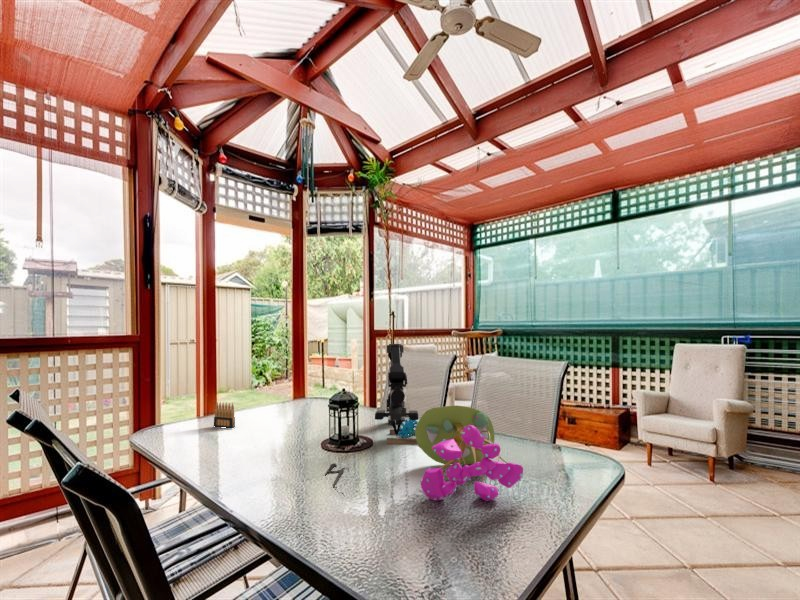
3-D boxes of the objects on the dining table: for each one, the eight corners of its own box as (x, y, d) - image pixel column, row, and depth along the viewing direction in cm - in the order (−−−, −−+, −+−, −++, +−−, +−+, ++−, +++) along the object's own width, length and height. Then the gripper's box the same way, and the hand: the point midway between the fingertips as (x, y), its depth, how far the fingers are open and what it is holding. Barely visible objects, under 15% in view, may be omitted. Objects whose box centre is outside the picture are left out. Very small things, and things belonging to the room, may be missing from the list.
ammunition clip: (213, 427, 179) (214, 402, 180) (216, 426, 181) (216, 401, 182) (232, 429, 176) (233, 403, 177) (235, 428, 178) (235, 402, 179)
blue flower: (393, 431, 167) (407, 413, 170) (400, 439, 169) (414, 421, 173) (407, 441, 158) (422, 422, 161) (414, 449, 160) (428, 430, 164)
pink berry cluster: (488, 380, 130) (513, 421, 95) (509, 456, 132) (540, 524, 97) (406, 401, 132) (400, 448, 97) (426, 475, 134) (428, 548, 99)
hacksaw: (331, 466, 132) (331, 462, 132) (360, 467, 130) (360, 463, 131) (306, 498, 108) (306, 493, 108) (341, 500, 107) (341, 494, 107)
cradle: (389, 433, 169) (389, 426, 169) (433, 434, 168) (433, 427, 168) (386, 443, 155) (386, 436, 155) (435, 444, 154) (435, 437, 154)
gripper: (373, 402, 155) (373, 440, 154) (418, 402, 155) (418, 441, 154) (376, 397, 166) (376, 432, 165) (418, 397, 166) (418, 433, 165)
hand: (396, 435), depth 162 cm, fingers closed
